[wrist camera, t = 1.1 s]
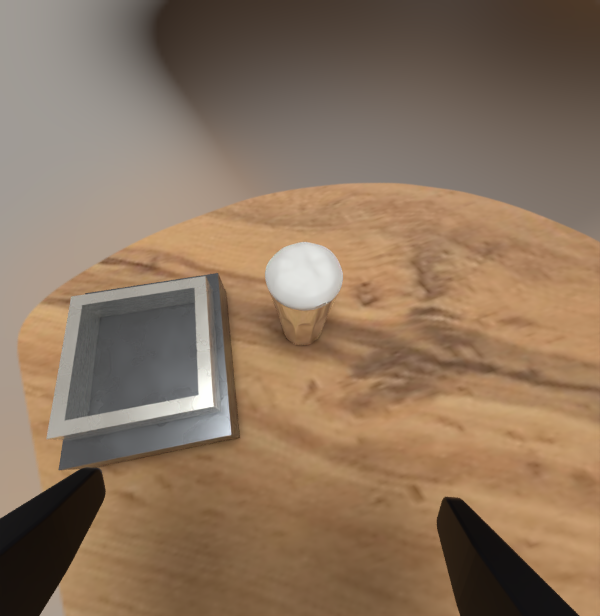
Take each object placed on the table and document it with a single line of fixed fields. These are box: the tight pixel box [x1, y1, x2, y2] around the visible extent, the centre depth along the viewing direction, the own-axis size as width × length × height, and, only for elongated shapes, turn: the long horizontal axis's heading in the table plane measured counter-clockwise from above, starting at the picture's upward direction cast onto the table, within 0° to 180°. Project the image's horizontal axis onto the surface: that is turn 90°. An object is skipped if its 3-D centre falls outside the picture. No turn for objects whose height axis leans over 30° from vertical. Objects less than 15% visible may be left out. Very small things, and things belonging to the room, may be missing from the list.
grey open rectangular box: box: [47, 273, 240, 470], centre depth 21 cm, size 12×10×5 cm
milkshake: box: [265, 242, 343, 345], centre depth 20 cm, size 5×5×10 cm
